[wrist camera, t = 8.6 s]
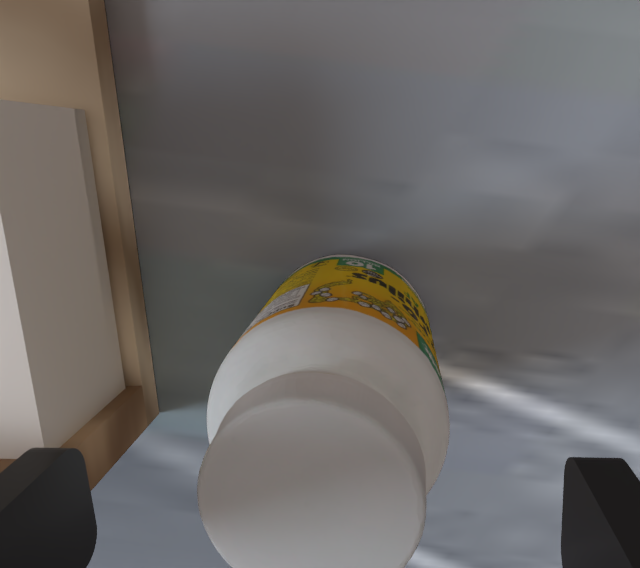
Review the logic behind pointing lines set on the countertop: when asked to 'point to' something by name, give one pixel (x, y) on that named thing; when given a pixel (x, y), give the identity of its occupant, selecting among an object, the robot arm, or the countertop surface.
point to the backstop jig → (111, 185)
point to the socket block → (51, 281)
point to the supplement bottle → (326, 424)
